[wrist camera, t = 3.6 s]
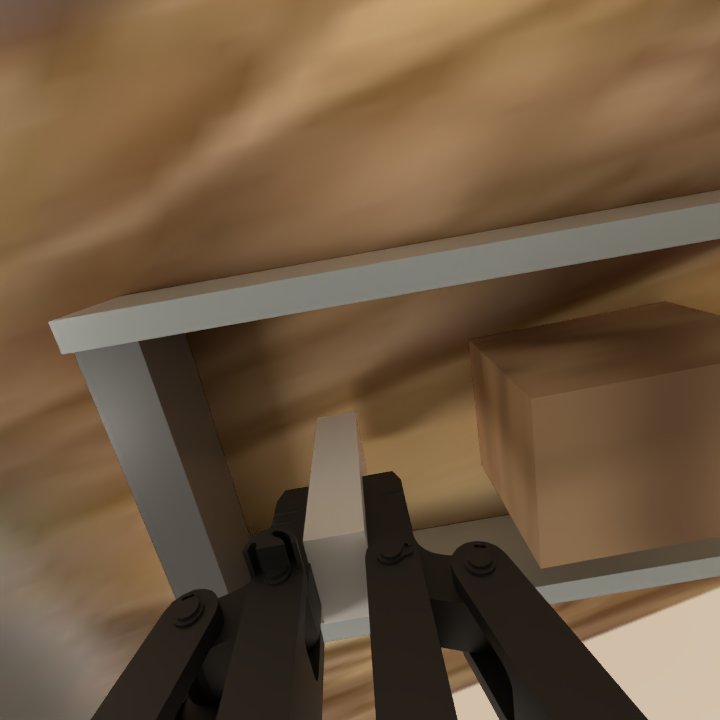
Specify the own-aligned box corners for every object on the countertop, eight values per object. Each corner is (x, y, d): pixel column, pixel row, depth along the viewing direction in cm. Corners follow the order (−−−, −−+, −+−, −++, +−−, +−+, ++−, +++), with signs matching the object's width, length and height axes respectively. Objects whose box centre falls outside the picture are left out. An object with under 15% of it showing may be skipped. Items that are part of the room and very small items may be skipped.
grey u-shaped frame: (220, 580, 20) (193, 663, 16) (118, 296, 16) (47, 321, 12) (756, 489, 20) (854, 553, 16) (810, 173, 15) (963, 159, 12)
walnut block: (480, 463, 19) (540, 568, 13) (467, 338, 17) (530, 399, 11) (656, 431, 19) (793, 523, 13) (663, 300, 17) (826, 343, 11)
